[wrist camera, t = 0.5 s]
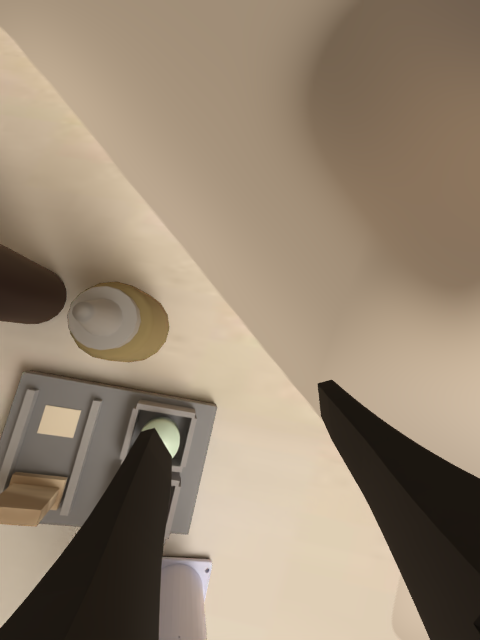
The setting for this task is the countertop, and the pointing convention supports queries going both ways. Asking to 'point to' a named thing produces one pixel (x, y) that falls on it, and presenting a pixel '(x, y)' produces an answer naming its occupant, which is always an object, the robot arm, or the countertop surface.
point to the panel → (98, 441)
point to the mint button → (166, 432)
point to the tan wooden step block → (30, 498)
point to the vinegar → (28, 290)
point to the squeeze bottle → (118, 322)
